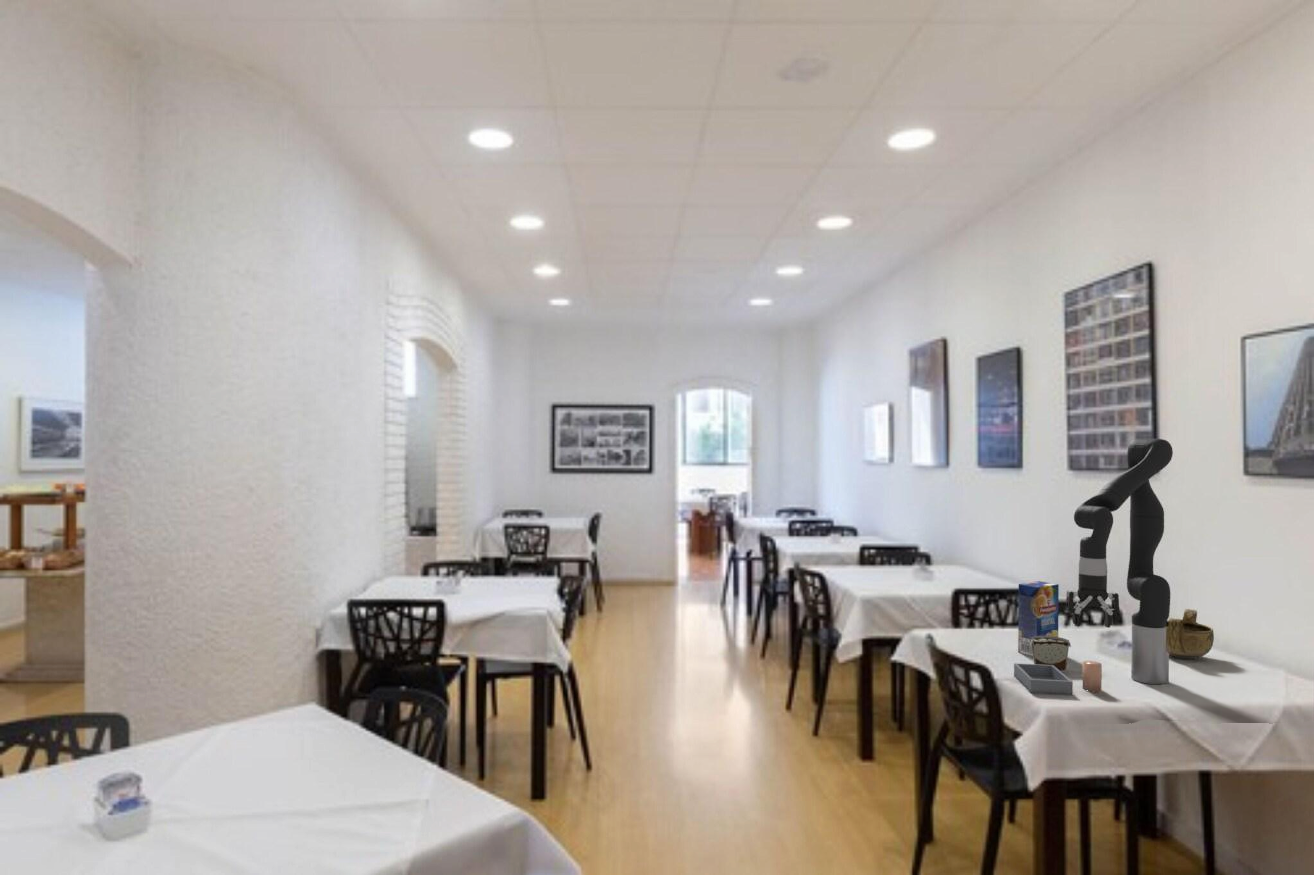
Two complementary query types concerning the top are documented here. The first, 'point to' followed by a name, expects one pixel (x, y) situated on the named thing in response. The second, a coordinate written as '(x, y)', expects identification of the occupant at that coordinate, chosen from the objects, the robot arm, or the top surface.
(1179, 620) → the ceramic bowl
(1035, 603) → the juice carton
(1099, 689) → the brown upright block
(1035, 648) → the food container
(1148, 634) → the robot arm
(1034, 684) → the bin
